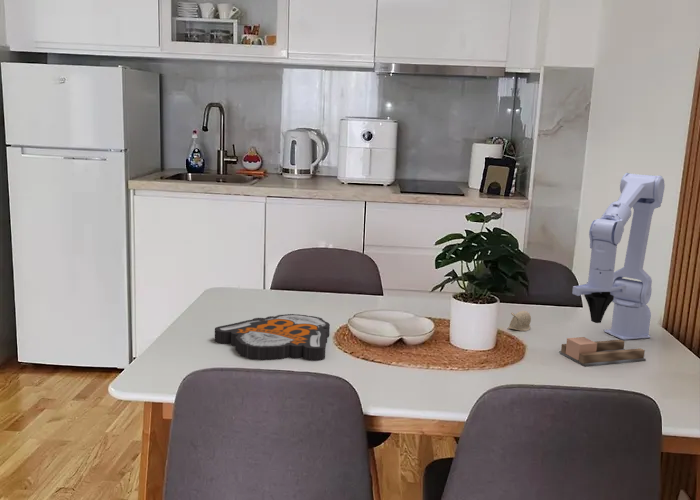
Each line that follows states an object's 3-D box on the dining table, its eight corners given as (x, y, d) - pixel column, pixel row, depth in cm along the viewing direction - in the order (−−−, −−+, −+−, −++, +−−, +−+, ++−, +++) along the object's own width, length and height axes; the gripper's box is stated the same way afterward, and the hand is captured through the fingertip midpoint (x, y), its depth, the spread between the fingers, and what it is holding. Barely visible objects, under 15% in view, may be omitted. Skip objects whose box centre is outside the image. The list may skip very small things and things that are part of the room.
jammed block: (582, 352, 176) (583, 337, 176) (595, 359, 172) (597, 343, 171) (565, 353, 175) (567, 338, 174) (578, 360, 170) (580, 344, 169)
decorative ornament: (534, 329, 197) (536, 310, 196) (514, 333, 192) (515, 314, 191) (523, 325, 200) (525, 307, 199) (502, 329, 195) (504, 310, 194)
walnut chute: (617, 348, 183) (618, 338, 183) (645, 360, 174) (646, 351, 174) (559, 352, 177) (560, 343, 177) (584, 366, 168) (586, 356, 167)
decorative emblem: (305, 372, 157) (361, 337, 184) (306, 357, 156) (361, 324, 183) (196, 349, 169) (263, 319, 196) (196, 335, 168) (264, 307, 195)
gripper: (614, 263, 179) (608, 315, 182) (566, 265, 174) (561, 319, 177) (634, 269, 173) (628, 323, 175) (585, 272, 168) (579, 327, 170)
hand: (595, 321), depth 176 cm, fingers closed
